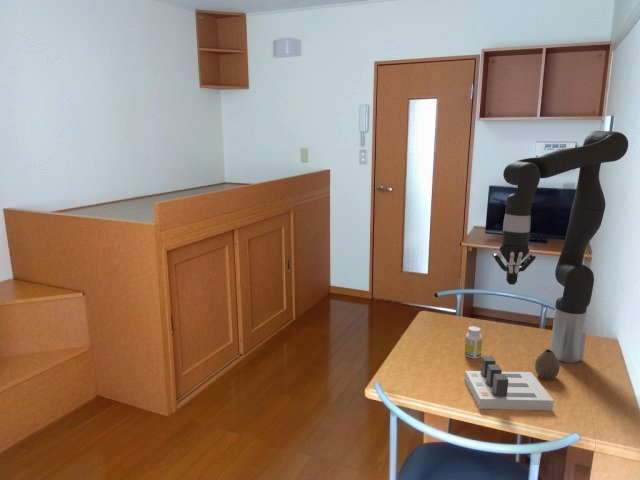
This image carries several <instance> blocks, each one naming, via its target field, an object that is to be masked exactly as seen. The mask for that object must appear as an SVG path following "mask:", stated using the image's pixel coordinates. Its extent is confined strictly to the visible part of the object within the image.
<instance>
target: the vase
mask: <svg viewBox="0 0 640 480" xmlns="http://www.w3.org/2000/svg"><path fill="white" fill-rule="evenodd" d="M534 368H535V373H536V375H537V376H538V377H539V378H540V379H543V380H547V381H549V380H550V381H551V380H554V379H555V378H556V377H557V376H558V375H559V372H560V361H559V360H558V359H557V358H556V356H555V355H554V353H553V351H552V350H550V348H548V349H544V351H543V352H542V353H540V355H538V356H537V357H536V359H535V363H534Z"/></svg>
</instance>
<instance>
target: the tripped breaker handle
mask: <svg viewBox="0 0 640 480" xmlns="http://www.w3.org/2000/svg"><path fill="white" fill-rule="evenodd" d="M507 389H508V378H507V377H506V375H505V374H494V377H493V388H492V390H493V392H494V394H495V395H496V396H507Z"/></svg>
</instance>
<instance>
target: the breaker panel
mask: <svg viewBox="0 0 640 480" xmlns="http://www.w3.org/2000/svg"><path fill="white" fill-rule="evenodd" d="M496 363H497V361H496V360H495V358H494V356H492V355H481V366H480V367H481V369H480V370H464V371H465V372H464V382H465V383H466V385H467V387H468V389H469V391H470V393H471V396H472V397H473V399H474V402H475V403H476V405H477V407H478V409H480V410H522V411H526V410H527V411H533V410H534V411H553V409H554V402H555V400H554V399H553V397H552V396H551V395H550V394H549V392H548V391H547V390H546V389H545V388H544V386H543V385H542V384H541V383H540V381H539V380H538V379H537V378H536V377H535V374H533V372H531V371H502V370H503V369H502V368H501V367H500V365H499V364H496ZM494 374H505V375H506V377H507V378H508V389H507V396H496V395H495V394H494V392H493V390H492V388H493V377H494Z"/></svg>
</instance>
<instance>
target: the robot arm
mask: <svg viewBox="0 0 640 480" xmlns="http://www.w3.org/2000/svg"><path fill="white" fill-rule="evenodd" d="M582 143H583V144H582V146H581V145H580V146H576V147H568V148H562V149H558V150H557V149H556V150H553V151H550V152H547V153H544V154H541V155H539V156H534V157H528V158H527V157H526V158H522V159H517V160H515V161H512V162H510V163H508V164H507V165H506V166H505V168H504V169H503V174H502V175H503V179H504V180H505V182H506V183H507V184H508V185H511V186H517V188H516V189H515V192H514V193H512V194H509V195H508V196H507V197H506V203H505V213H504V218H503V223H502V224H503V225H502V237H501V245H500V247H499V251H497V252H496V253H492V254H491V256H492V258H493V259H494V261H495V262H496V263H497V265H498V266H499V267H500V269H501V270H502V271H504V272H506V276H505V277H506V278H505V280H506V282H507V284H508V285H515V284H517V282H518V277H519V275H518V274H519V273H520V272H525V271H526V269H527V268H528V267H529V266H530V265H531V264H532V263H533V262H534V261H535V260H536V258H537V257H536V256H535V255H534V254H532V253H531V252H530V248H529V243H530V232H531V231H530V230H531V223H532V222H531V212H532V203H533V202H532V201H533V199H534V197H535V194H536V192H537V189H538V186H539V183H540V180H541V179H548V178H551V177H554V176H558V175H561V174H565V173H567V172H570V171H573V170H577V169H579V172H578V178H577V185H576V189H575V194H574V199H573V202H572V206H571V211H570V215H569V220H568V226H567V230H566V234H565V238H564V243H563V245H562V249H561V253H560V255H559V258H558V261H557V264H556V267H555V271H554V276H555V280H556V282H557V283H559V285H561V286H563V293H562V296H561V297H557V298H556V300H555V306H554V307H555V308H554V314H553V325H552V331H551V339H550V340H551V341H550V346H549V347H550V348H549V350H552V351H553V353H554V355H555V356H556V358H557V359H558V361H559V362H561V363H562V362H563V363H569V364H570V363H571V364H572V363H573V364H574V363H575V364H576V363H578V362H583V359H584V353H585V344H586V337H587V334H586V333H585V332H584V330H585V323H586V316H587V309H588V307H589V305H590V304H591V300H592V295H593V292H594V291H593V290H594V284H595V275H594V272H593V270H592V269H591V268H590V267H589V266H587V265H585V264H583V262H584V257H585V253H586V252H585V251H586V248H587V246H588V244H589V243H590V242H591V240H592V239H593V238H594V237H595V235H596V233H598V231H599V229H600V227H601V225H602V223H603V219H604V214H605V210H606V199H605V194H604V192H603V189H602V186H601V181H600V171H601V166H602V163H612V162H616V161H619V160H621V159H622V158H623V157H624V156H625V155H626V153H627V151H628V150H629V140H628V138H627V136H626V135H625V134H624V133H622V132H619V131H613V130H612V131H611V130H610V131H609V130H593V131H591V132H589V133H588V134H587V135H586V137H585V139H584V141H583V142H582ZM502 258H503V259H504V260H505V263H504V261H502ZM505 264H506V265H505Z"/></svg>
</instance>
